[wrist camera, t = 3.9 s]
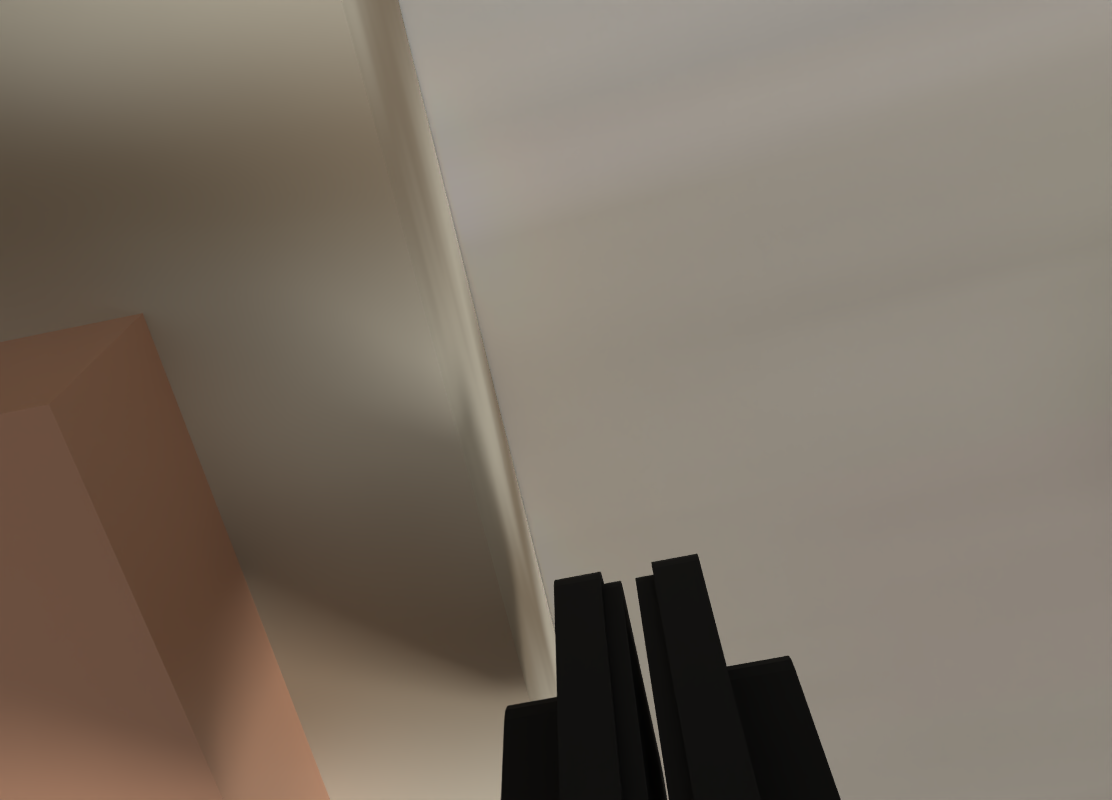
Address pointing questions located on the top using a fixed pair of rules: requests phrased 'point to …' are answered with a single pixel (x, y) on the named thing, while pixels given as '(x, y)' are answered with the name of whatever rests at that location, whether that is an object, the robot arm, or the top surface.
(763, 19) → the top surface
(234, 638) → the tile
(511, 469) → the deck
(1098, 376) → the top surface
